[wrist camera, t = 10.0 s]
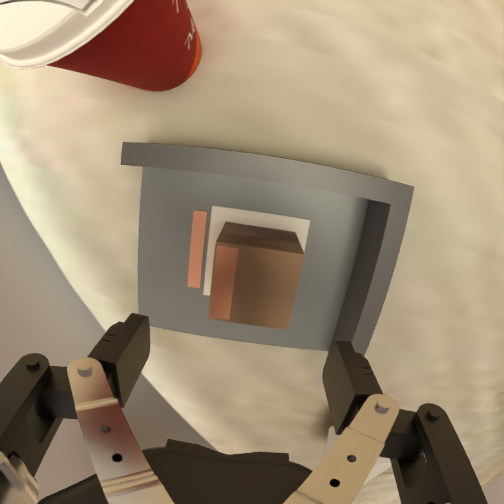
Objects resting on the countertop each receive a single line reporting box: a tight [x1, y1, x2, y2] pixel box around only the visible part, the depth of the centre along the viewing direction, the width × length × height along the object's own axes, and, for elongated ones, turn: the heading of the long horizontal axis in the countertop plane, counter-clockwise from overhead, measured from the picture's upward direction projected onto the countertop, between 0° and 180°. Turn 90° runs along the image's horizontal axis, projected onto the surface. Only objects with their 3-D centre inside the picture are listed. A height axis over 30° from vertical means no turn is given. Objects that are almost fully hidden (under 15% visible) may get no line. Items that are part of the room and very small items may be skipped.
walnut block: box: [208, 222, 305, 330], centre depth 20 cm, size 5×5×5 cm
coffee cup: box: [0, 0, 202, 91], centre depth 12 cm, size 8×8×15 cm
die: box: [323, 425, 392, 484], centre depth 26 cm, size 8×9×10 cm
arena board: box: [121, 142, 414, 356], centre depth 21 cm, size 15×18×5 cm
